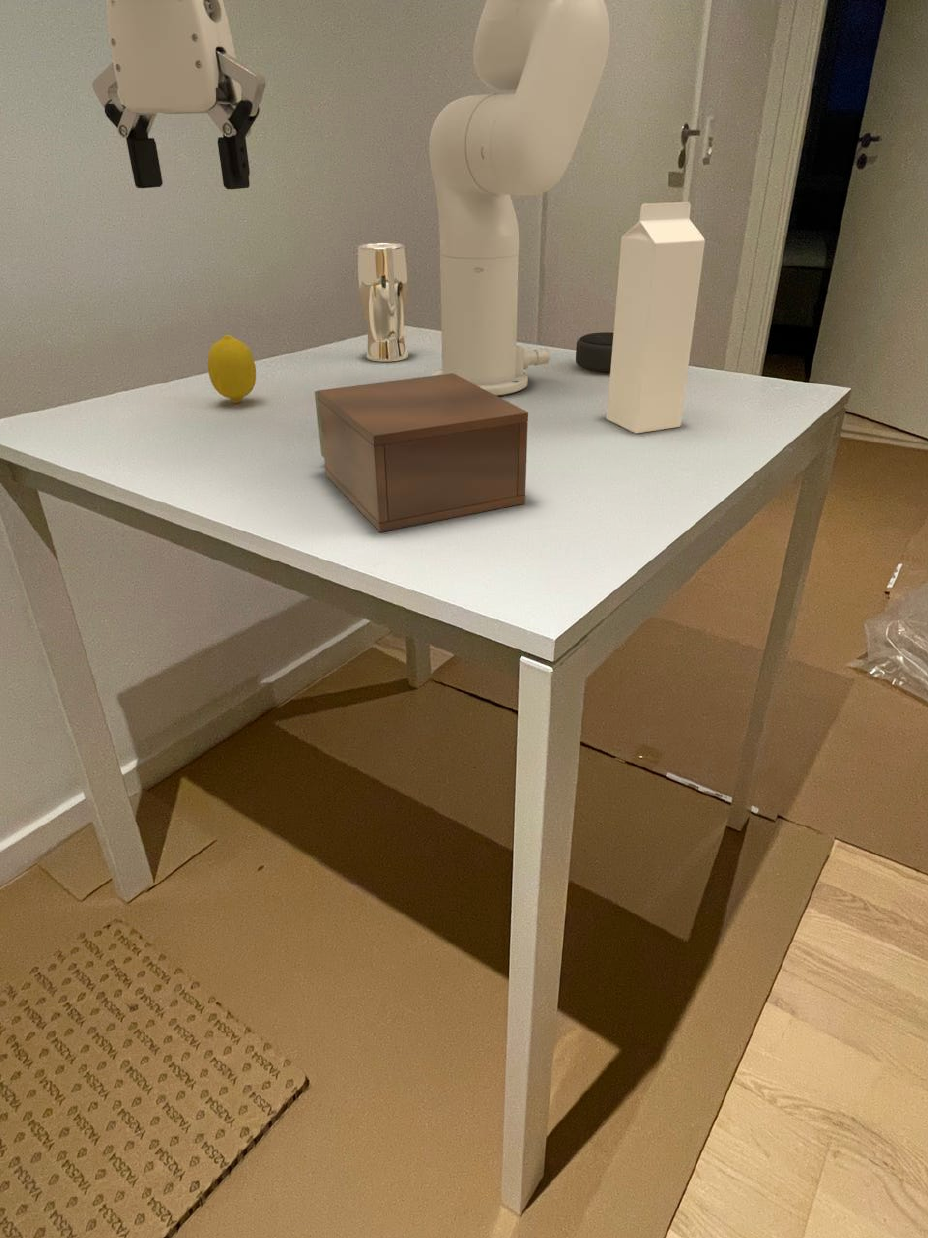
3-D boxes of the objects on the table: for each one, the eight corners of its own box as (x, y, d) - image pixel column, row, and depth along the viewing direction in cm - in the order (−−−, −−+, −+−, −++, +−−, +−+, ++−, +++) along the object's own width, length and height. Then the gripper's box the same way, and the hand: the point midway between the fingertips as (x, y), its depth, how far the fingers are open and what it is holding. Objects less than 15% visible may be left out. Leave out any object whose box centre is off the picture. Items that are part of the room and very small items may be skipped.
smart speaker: (618, 379, 107) (620, 347, 105) (562, 368, 112) (564, 338, 110) (651, 366, 113) (654, 336, 111) (597, 357, 118) (599, 328, 116)
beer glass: (364, 352, 122) (356, 242, 114) (410, 351, 122) (406, 242, 115) (363, 363, 116) (355, 248, 108) (411, 362, 116) (407, 247, 109)
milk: (680, 427, 90) (712, 203, 78) (634, 434, 87) (660, 205, 76) (648, 412, 94) (674, 199, 83) (604, 418, 92) (624, 201, 81)
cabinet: (325, 475, 77) (317, 390, 73) (454, 453, 82) (453, 372, 78) (379, 532, 66) (373, 435, 62) (525, 503, 71) (528, 412, 67)
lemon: (248, 410, 96) (238, 340, 92) (205, 408, 97) (193, 338, 93) (267, 397, 101) (259, 330, 97) (226, 395, 102) (215, 329, 98)
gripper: (271, -50, 67) (295, 186, 75) (102, -34, 72) (143, 184, 81) (217, -68, 61) (250, 191, 69) (37, -50, 66) (89, 189, 75)
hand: (192, 187), depth 75 cm, fingers open, 9 cm apart
